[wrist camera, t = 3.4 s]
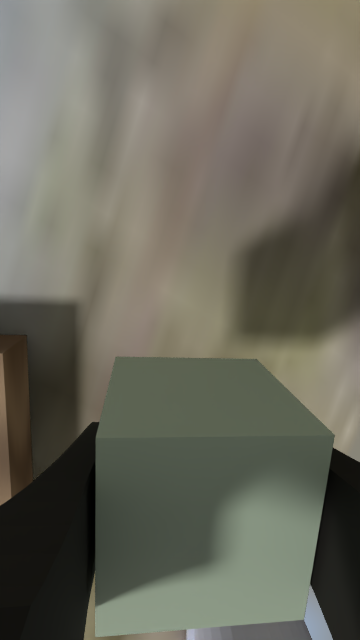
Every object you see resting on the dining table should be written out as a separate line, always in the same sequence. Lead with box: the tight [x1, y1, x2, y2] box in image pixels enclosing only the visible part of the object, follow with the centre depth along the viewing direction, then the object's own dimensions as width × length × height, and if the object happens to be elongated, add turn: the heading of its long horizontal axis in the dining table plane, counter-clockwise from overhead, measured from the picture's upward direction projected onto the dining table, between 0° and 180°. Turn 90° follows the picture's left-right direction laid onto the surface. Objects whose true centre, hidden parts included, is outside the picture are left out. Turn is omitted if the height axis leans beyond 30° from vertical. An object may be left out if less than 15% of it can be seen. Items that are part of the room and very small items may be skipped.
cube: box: [95, 357, 335, 637], centre depth 10 cm, size 5×5×5 cm
